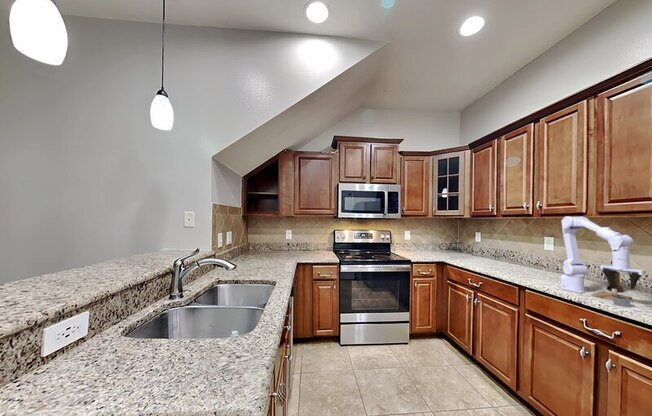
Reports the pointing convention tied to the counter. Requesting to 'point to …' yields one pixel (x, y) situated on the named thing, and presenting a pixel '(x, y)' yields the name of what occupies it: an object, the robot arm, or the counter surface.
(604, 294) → the post board
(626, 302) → the hub ring
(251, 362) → the counter surface
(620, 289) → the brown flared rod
